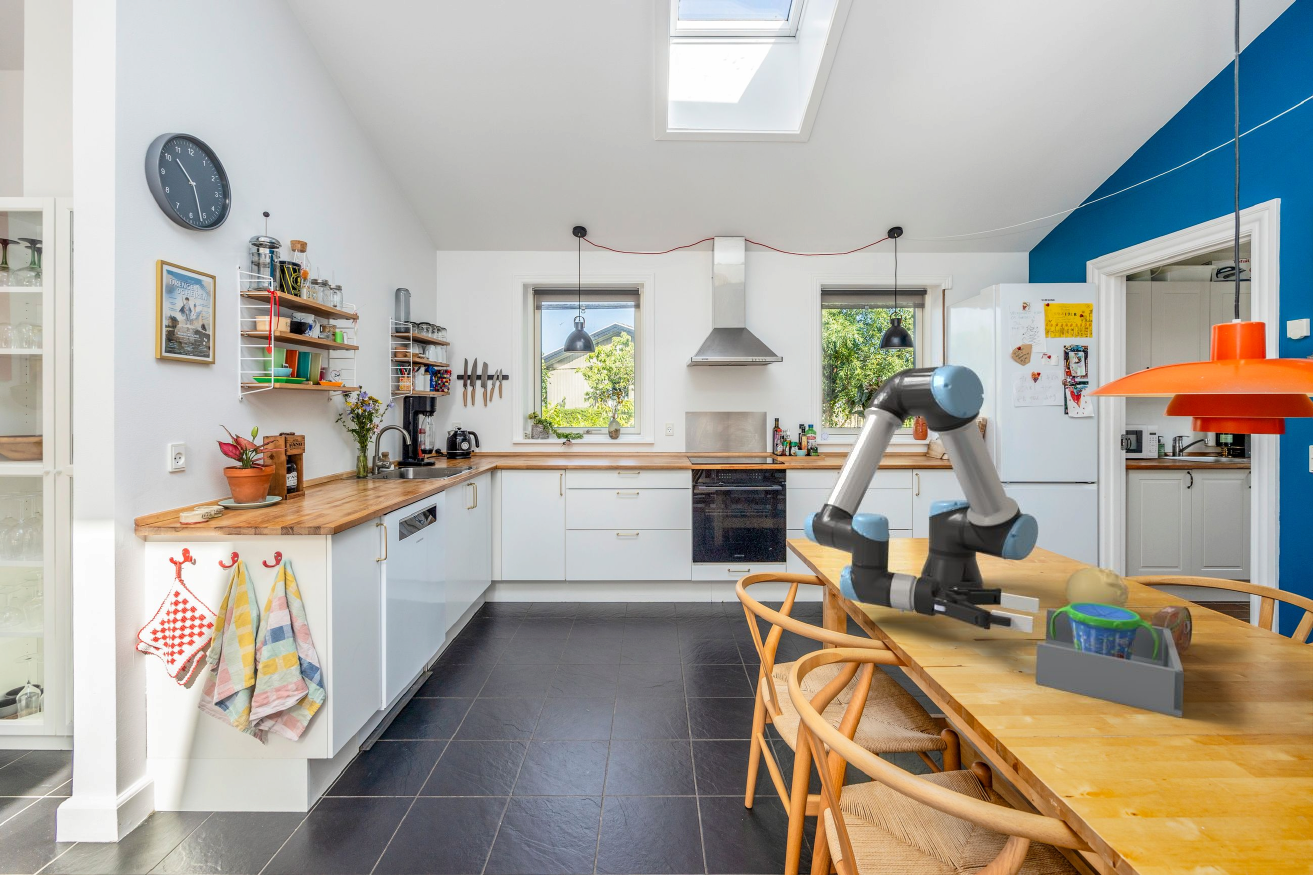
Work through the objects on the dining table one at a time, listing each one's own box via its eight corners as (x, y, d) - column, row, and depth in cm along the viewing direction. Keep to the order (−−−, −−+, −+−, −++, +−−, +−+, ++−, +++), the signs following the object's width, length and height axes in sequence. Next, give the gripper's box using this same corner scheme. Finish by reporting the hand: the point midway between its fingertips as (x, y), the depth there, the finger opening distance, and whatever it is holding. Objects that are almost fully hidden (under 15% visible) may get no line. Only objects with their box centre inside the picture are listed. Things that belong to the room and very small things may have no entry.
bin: (1046, 642, 123) (1047, 608, 122) (1168, 665, 111) (1169, 628, 111) (1035, 683, 103) (1037, 643, 103) (1181, 717, 92) (1183, 672, 92)
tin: (1166, 662, 113) (1168, 617, 113) (1145, 656, 116) (1147, 613, 116) (1193, 645, 122) (1195, 604, 121) (1173, 640, 124) (1175, 600, 124)
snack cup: (1041, 660, 111) (1043, 605, 110) (1060, 646, 118) (1062, 594, 117) (1149, 690, 99) (1152, 629, 99) (1163, 672, 106) (1165, 615, 106)
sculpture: (1134, 623, 134) (1136, 576, 134) (1069, 615, 139) (1071, 569, 139) (1120, 609, 144) (1122, 564, 144) (1061, 601, 150) (1062, 558, 149)
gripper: (929, 597, 136) (1040, 617, 124) (900, 628, 116) (1029, 655, 103) (930, 564, 136) (1041, 580, 123) (901, 590, 116) (1030, 612, 103)
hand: (1036, 615), depth 113 cm, fingers open, 13 cm apart
